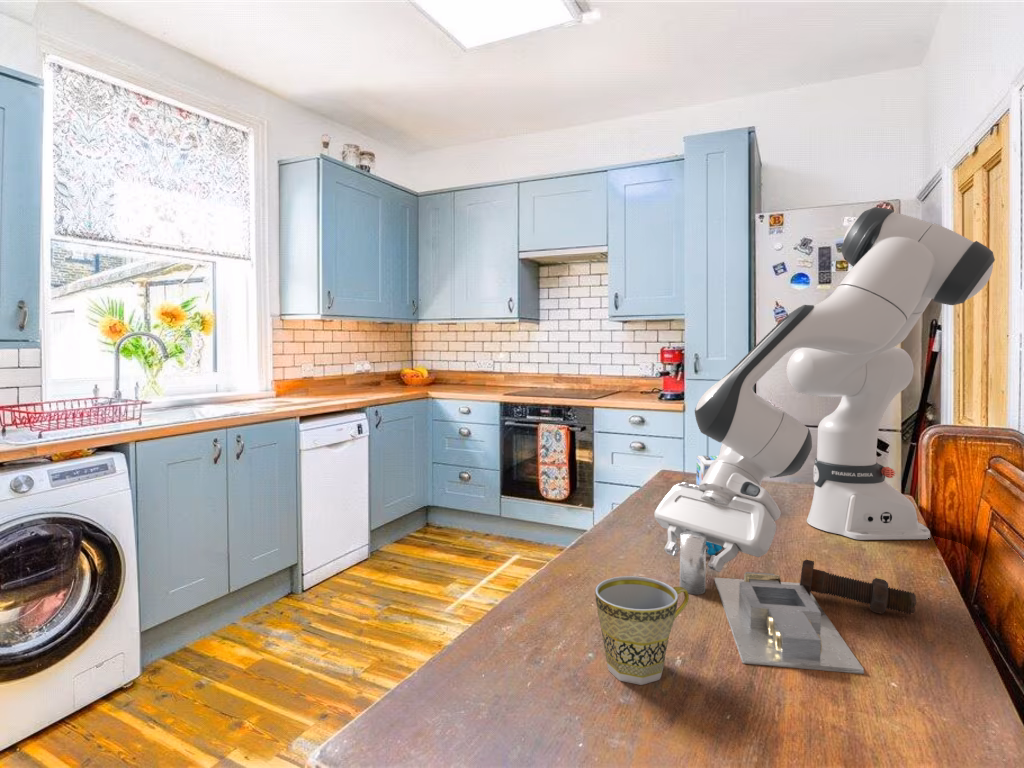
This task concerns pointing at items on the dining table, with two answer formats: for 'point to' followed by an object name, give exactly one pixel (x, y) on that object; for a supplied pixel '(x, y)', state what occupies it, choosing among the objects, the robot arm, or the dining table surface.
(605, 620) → the ceramic cup
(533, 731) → the dining table surface
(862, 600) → the bolt
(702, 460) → the light bulb box
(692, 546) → the silver upright cylinder
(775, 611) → the gray metal plate
